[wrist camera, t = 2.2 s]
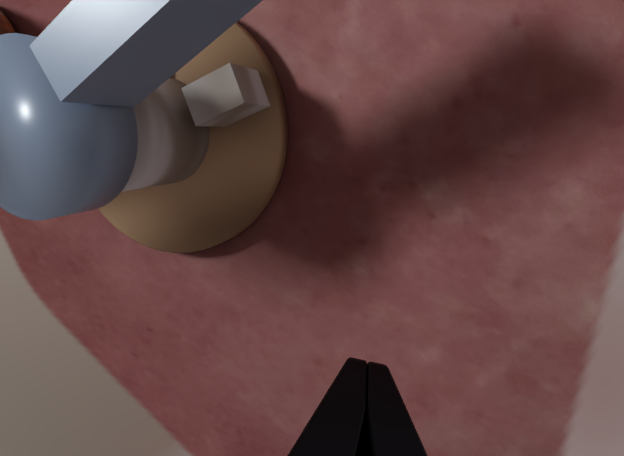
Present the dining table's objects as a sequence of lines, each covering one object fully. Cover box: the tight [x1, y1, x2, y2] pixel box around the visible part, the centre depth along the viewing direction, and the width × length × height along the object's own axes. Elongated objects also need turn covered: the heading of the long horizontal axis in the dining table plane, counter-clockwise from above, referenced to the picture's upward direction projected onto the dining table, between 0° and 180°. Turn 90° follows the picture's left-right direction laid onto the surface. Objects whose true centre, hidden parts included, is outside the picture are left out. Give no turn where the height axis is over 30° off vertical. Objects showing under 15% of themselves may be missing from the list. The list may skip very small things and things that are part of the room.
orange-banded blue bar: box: [0, 0, 262, 220], centre depth 14 cm, size 14×6×3 cm, turn 121°
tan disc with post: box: [98, 22, 288, 253], centre depth 20 cm, size 12×12×6 cm
